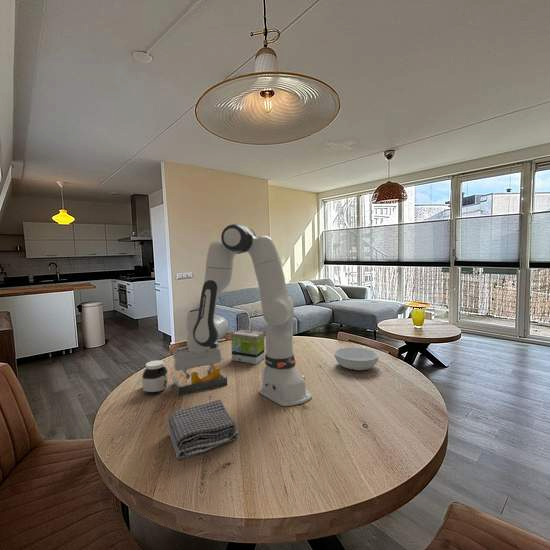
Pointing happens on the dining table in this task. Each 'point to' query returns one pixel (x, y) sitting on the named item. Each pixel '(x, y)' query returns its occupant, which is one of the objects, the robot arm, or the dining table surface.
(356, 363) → the serving bowl
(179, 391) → the tray
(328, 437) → the dining table surface
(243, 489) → the dining table surface
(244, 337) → the tea box
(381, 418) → the dining table surface
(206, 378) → the pipe clamp
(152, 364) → the spread jar
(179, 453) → the towel
